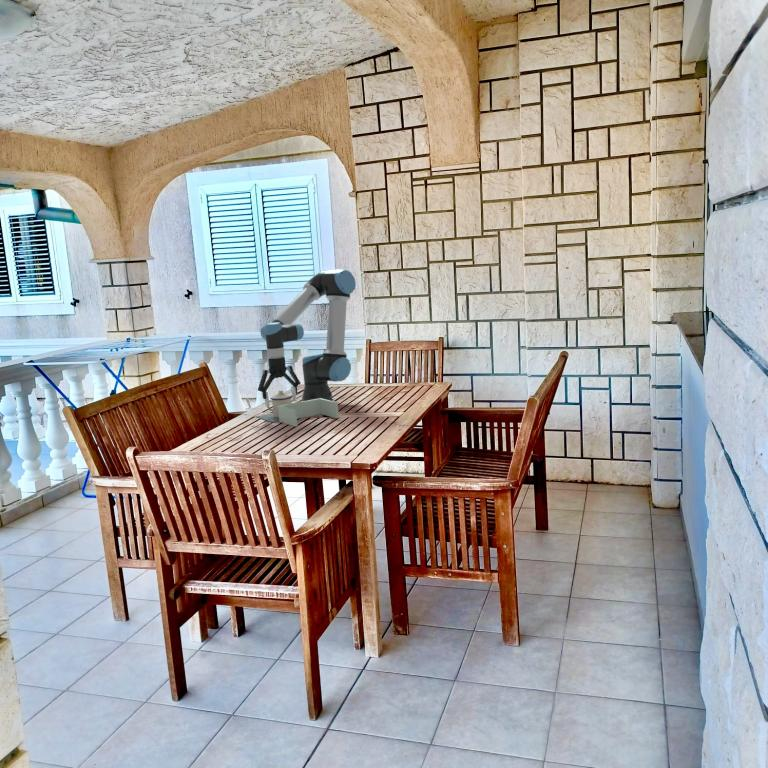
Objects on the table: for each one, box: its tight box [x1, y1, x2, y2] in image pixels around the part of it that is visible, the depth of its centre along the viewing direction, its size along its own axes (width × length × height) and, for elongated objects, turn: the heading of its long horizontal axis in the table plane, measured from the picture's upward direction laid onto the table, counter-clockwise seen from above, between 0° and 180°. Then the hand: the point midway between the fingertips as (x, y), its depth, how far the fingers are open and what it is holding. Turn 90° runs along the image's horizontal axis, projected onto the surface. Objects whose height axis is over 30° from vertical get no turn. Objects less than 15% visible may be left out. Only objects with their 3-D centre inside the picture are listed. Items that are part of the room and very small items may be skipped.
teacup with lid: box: [266, 390, 293, 418], centre depth 335 cm, size 12×9×12 cm
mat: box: [255, 412, 280, 423], centre depth 337 cm, size 18×18×1 cm
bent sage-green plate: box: [278, 398, 340, 427], centre depth 324 cm, size 21×16×7 cm
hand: (281, 403), depth 336 cm, fingers open, 13 cm apart
